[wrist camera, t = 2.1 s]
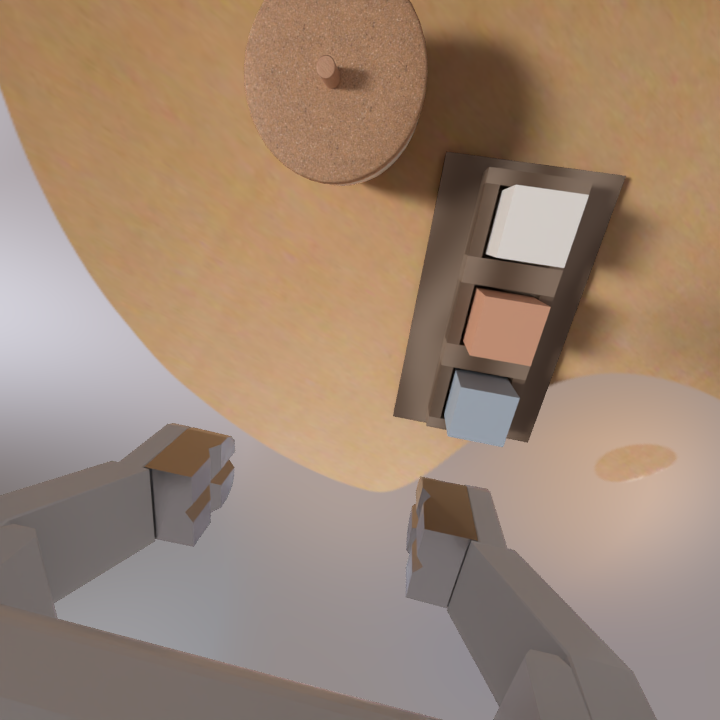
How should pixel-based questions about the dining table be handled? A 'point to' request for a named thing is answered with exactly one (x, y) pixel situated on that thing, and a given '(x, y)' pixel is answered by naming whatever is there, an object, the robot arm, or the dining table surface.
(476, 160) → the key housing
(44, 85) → the dining table surface
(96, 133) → the dining table surface
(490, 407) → the key slate
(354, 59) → the lidded jar
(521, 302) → the key terracotta
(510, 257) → the key white
